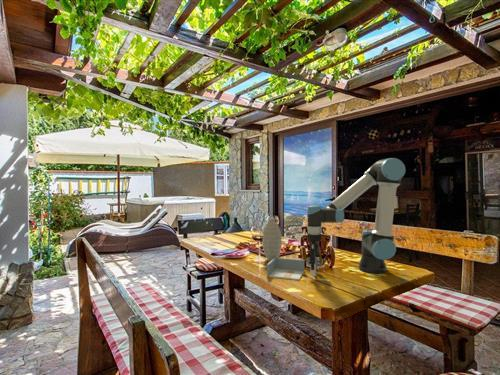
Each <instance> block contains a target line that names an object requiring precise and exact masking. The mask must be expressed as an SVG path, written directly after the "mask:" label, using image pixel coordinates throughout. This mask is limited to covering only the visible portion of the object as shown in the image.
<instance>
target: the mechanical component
mask: <svg viewBox="0 0 500 375" xmlns="http://www.w3.org/2000/svg"><path fill="white" fill-rule="evenodd" d="M304 262H306V265H307V266H309V267H310V264H309V262H310V257H306V258H305V259H304ZM318 263H319V264H318ZM324 263H325V259H323V258H321V260H319V261H318V260H317V258H315V264H316V270H318V269H317V266H319V267H322V266H323V265H324ZM313 277H314V278H316V277H317V275H316V276H313Z"/></svg>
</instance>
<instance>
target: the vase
mask: <svg viewBox="0 0 500 375" xmlns="http://www.w3.org/2000/svg"><path fill="white" fill-rule="evenodd" d="M282 238H283V237H282V232H281V228H280V227H279V225H278V222H276V219H275V217H269V218H268V221H267V222H266V225H265V226H264V229H263V233H262V249H263V252H264V255H265V257H266V259H267V261H268V262H270V261H271V260H272V259H273V258H275V257H276V258H280V254H281V251H282V241H283V240H282Z"/></svg>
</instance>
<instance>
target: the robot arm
mask: <svg viewBox="0 0 500 375" xmlns="http://www.w3.org/2000/svg"><path fill="white" fill-rule="evenodd" d="M405 174H406V166H405V164H404V163H403V161H402V160H400V159H398V158H396V157H389V158H383V159H379V160H378V161H376V162H375V163H373V164H372V165H371V166H370V167H369V168H368V169H367V170H365V171H364V173H363V176H361V177H360V178H359V179H358V180H356V181H355V182H354V183H353V184H352V185H351V186H349V187H348V188H347V189H346V190H344V191H343V192H342V193H340V195H338V196H337V197H336V198H335V199H333V201H331V202H330V203H329V204H328V205H326V206H323V207H322V206H321V205H315V204H313V205H308V206H307V213H306V214H307V217H306V218H307V219H306V220H307V227H306V229H307V240H308V242H311V243H310V246H309V247H310V248H309V249H310V252H309V258H310V261H309V264H310V266H309V271H310V272H309V273H310V274H309V275H310V277H314V276H316V277H317V270H319V269H320V266H317V269H316V264H315V258H317V260H318V261H320V258H321V254H320V242H321V241H322V239H323V238H322V233H323V232H322V231H323V230H322V229H323V228H322V227H323V226H322V224H324V223H325V224H328V223H329V224H330V223H332V224H334V223H335V224H339V223H343V222H344V220H345V212H344V210H345V208H347V207H348V206H349V205H351V203H353V202H354V201H355V200H357V199H358V198H359V197H360V196H361V195H363V194H364V193H365V192H366V191H367V190H369V189H370V188H371V187H372V186H376V185H378V194H377V200H376V201H377V202H376V210H375V222H374V227H373V230H371V229H370V230H363V231H362V232H361V256H360V260H359V262H358V269H359V270H361V271H363V272H365V273H369V274H370V273H371V274H383V273H386V272H387V268H388V266H387V264H386V262H385V261H386V260H390V259H391V258H393V257H394V256H395V254H396V252H397V247H396V244H395V242H394V241H395V235H394V233H393V232H392V230H393V223H394V222H393V221H394V214H395V213H394V211H395V204H396V197H397V196H396V195H397V188H398V187H399V186H401V181H402V178H403V177H404V175H405ZM318 264H320V263H318Z"/></svg>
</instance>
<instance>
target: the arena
mask: <svg viewBox="0 0 500 375" xmlns="http://www.w3.org/2000/svg"><path fill="white" fill-rule="evenodd" d="M304 273H305V259H296V258H287V257H285V258H284V257H278V258H276V257H275V258H273V259H272V260H271V261H268V263H267V264H266V277H267V278H273V279H274V278H276V279H282V280H291V281H292V280H293V281H300V279H301V278H302V276H303V275H304Z"/></svg>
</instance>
